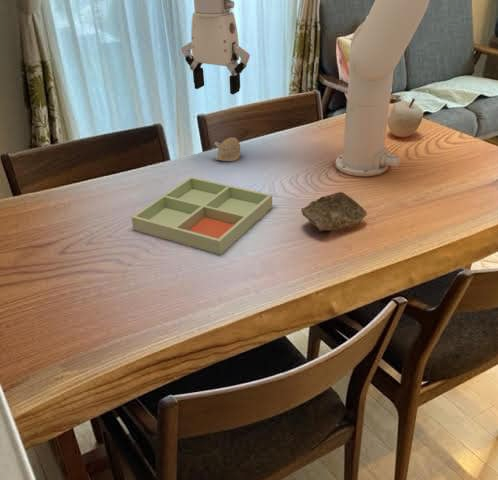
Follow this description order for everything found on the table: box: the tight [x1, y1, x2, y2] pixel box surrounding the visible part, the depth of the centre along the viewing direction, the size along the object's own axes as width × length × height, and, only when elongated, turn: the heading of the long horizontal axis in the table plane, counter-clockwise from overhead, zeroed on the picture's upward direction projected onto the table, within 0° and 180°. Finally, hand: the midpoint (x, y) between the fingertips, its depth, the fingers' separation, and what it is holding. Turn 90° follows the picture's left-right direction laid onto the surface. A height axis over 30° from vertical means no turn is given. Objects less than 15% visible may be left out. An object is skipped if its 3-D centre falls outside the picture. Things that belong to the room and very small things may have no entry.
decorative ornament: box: [214, 136, 242, 162], centre depth 135 cm, size 4×8×5 cm, turn 129°
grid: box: [130, 176, 273, 255], centre depth 112 cm, size 21×21×3 cm
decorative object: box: [387, 97, 424, 138], centre depth 142 cm, size 9×9×10 cm
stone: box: [300, 191, 368, 232], centre depth 108 cm, size 13×8×8 cm
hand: (217, 90), depth 125 cm, fingers open, 9 cm apart
